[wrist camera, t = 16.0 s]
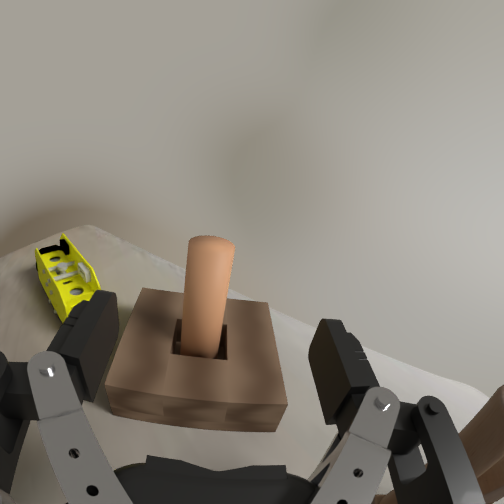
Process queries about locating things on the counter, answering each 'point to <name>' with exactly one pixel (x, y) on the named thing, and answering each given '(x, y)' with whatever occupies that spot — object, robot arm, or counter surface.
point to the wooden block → (480, 450)
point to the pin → (205, 295)
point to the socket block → (197, 369)
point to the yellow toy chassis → (65, 276)
